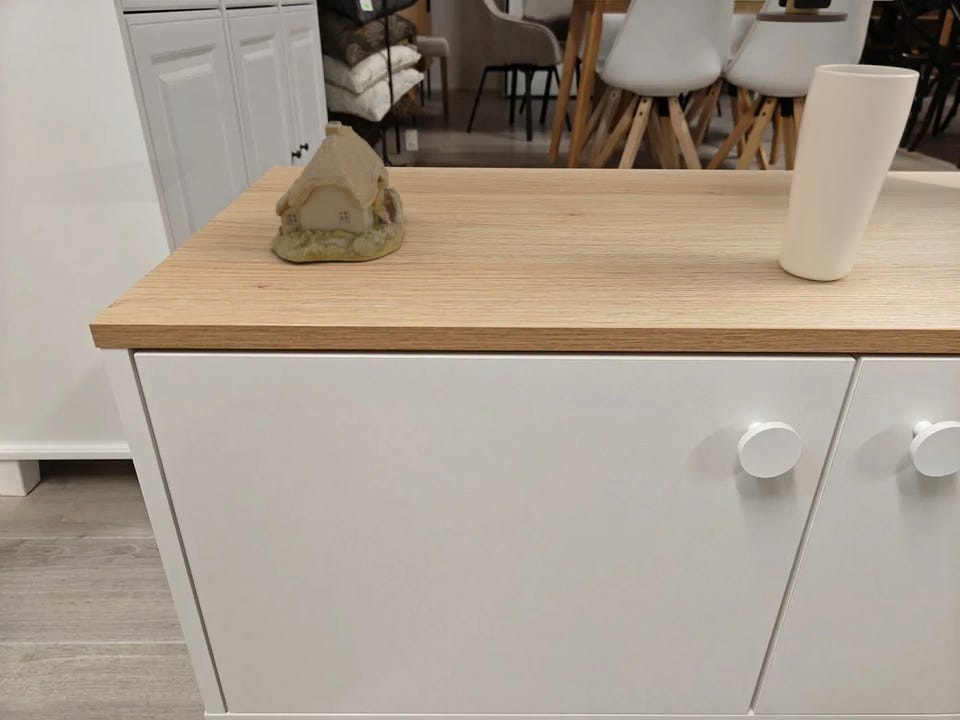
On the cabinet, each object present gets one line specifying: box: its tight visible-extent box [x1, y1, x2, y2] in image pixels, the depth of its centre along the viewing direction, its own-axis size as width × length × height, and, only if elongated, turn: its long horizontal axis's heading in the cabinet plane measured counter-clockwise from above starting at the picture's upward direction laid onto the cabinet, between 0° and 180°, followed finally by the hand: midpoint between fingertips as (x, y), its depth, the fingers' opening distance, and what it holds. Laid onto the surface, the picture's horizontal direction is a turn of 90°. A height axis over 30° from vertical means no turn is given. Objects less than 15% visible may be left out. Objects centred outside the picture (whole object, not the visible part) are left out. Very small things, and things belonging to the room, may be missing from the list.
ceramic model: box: [270, 120, 406, 263], centre depth 58 cm, size 14×11×10 cm
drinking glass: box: [778, 63, 920, 282], centre depth 51 cm, size 7×7×15 cm
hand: (803, 5), depth 64 cm, fingers closed on lid, 3 cm apart
